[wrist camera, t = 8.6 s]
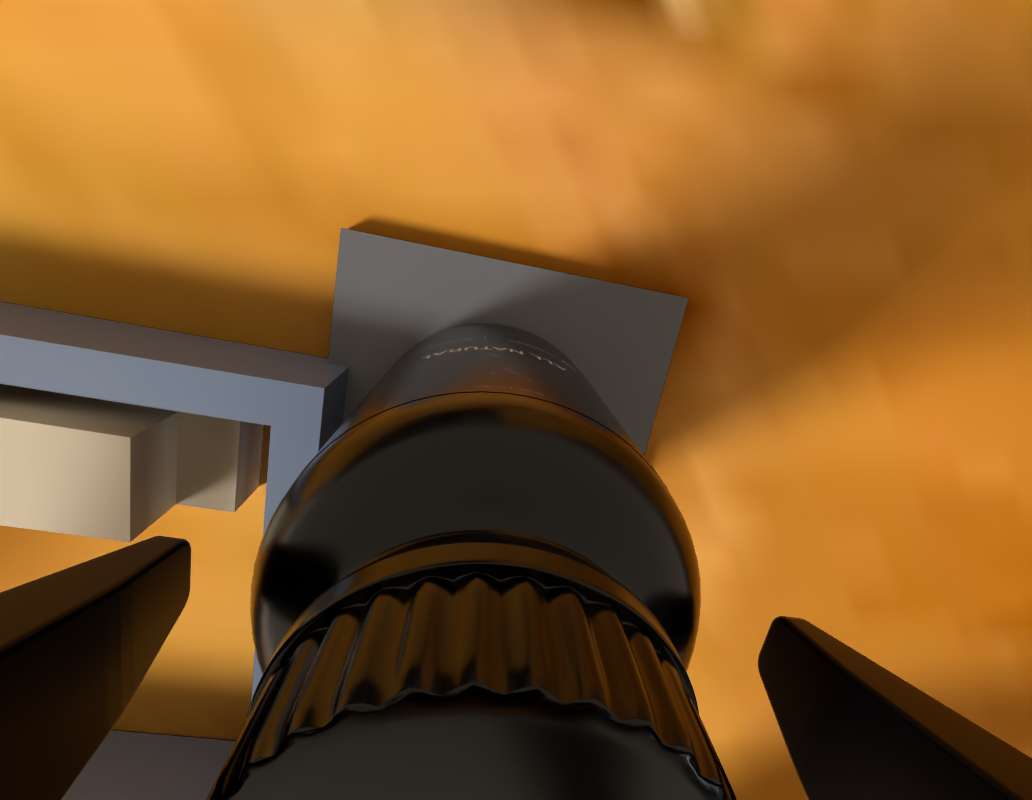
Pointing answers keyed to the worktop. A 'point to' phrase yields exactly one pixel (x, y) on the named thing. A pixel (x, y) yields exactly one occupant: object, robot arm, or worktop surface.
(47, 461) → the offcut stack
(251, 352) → the blue-grey rectangular tray
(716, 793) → the supplement bottle
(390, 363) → the mat
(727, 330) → the worktop surface
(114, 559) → the robot arm
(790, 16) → the worktop surface
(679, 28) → the worktop surface
